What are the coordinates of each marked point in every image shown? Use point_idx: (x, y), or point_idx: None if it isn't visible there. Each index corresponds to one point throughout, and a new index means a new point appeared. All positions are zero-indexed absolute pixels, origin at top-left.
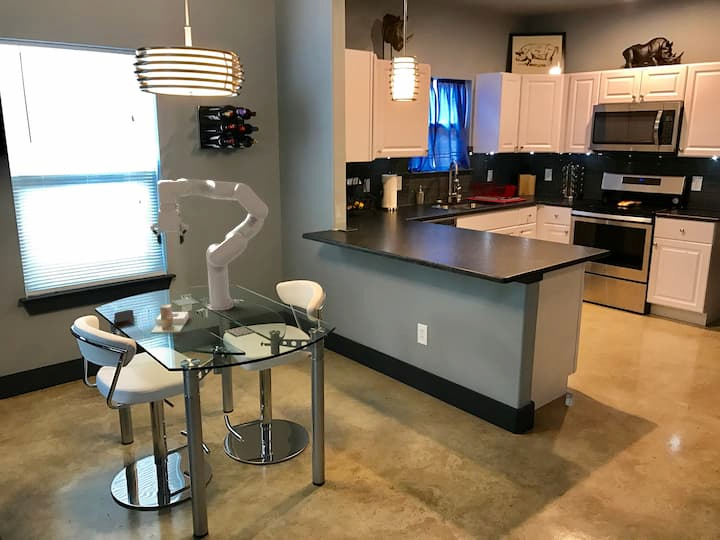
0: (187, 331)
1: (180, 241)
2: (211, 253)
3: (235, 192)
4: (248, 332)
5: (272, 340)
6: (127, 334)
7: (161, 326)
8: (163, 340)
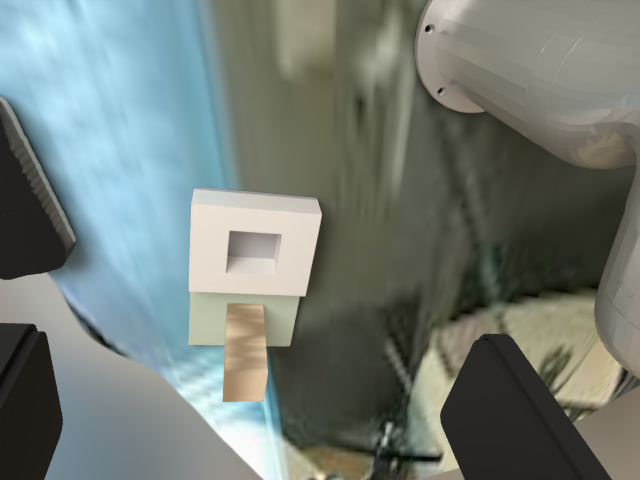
0: (313, 327)
1: (465, 463)
2: None
3: None
4: None
5: None
6: (96, 329)
7: (216, 298)
8: None
